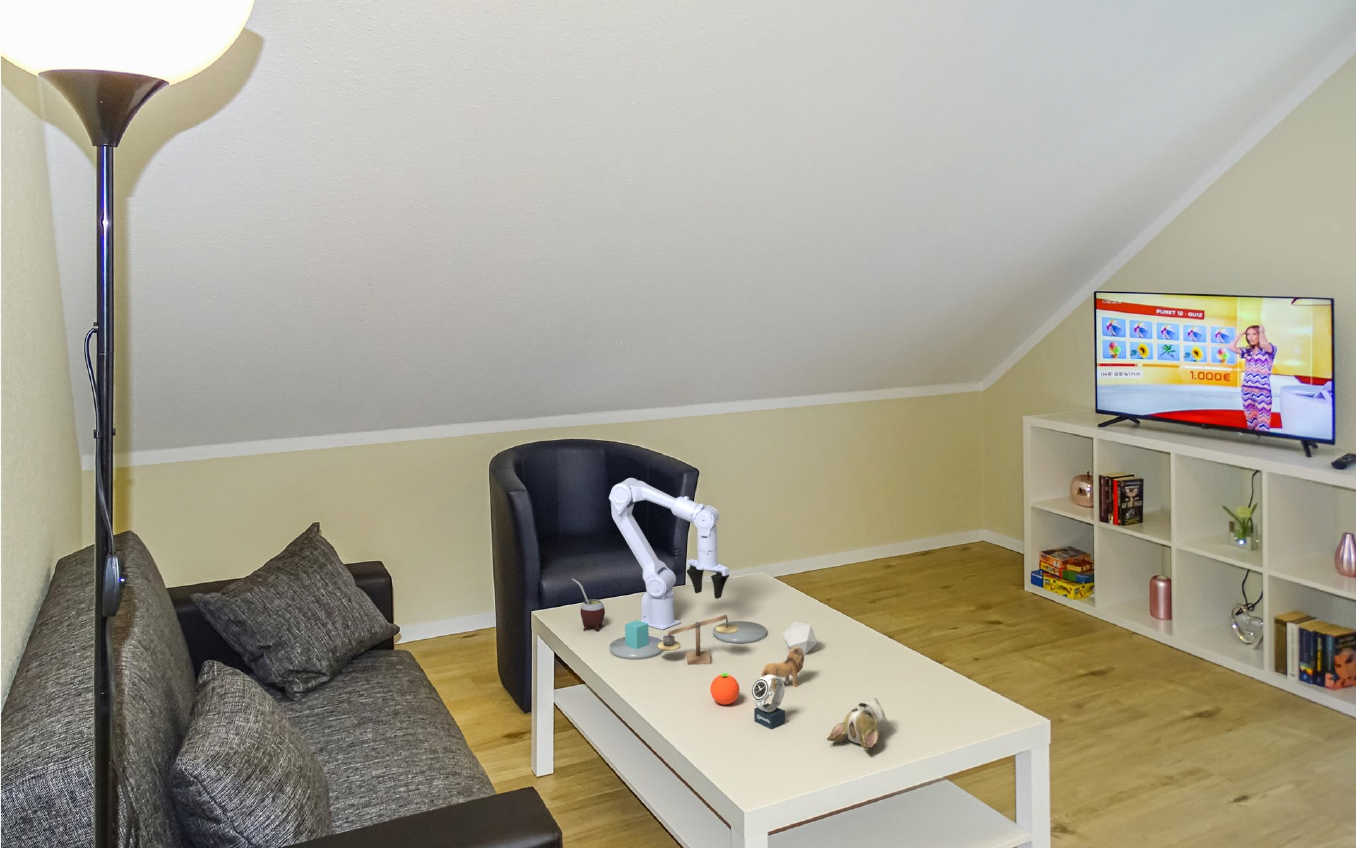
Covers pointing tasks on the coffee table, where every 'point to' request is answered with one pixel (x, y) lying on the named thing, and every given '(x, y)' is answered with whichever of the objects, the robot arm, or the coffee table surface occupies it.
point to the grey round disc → (742, 633)
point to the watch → (769, 712)
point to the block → (636, 634)
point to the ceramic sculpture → (861, 725)
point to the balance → (697, 655)
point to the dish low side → (626, 652)
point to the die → (800, 636)
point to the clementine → (724, 689)
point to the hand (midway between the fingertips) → (708, 595)
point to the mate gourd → (591, 612)
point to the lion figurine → (786, 667)
